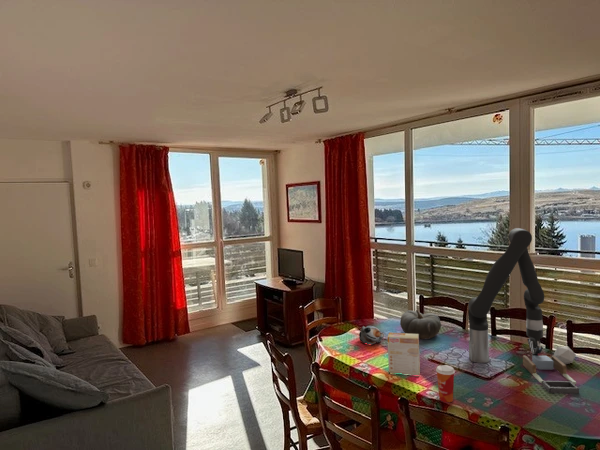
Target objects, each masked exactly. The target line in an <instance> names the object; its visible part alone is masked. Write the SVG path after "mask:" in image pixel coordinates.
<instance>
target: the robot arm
mask: <svg viewBox="0 0 600 450" xmlns="http://www.w3.org/2000/svg"><path fill="white" fill-rule="evenodd" d="M532 239H533V236H532V234H531V232H530V231H528V230H526V229H524V228H519V227H515V228H513V229H511V230H510V231H509V233H508V240H509V242H510V243H509V245H508V246H507V248H506V250H505V251H504V252H503V254H502V255H500V257H498V259H496V261H495V262H494V263H493V264H492V266H491V268H489V271H488V273H487V275H486V277H485V280H484V282H483V286H482V289H481V291H480V293H479V294H478V296H476V297H472V298H471V299H470V300H469V301H468V303H467V304H468V305H467V309H468V313H467V314H468V324H469V340H468V358H469V360H470V361H471V362H474V363H477V364H484V363H485V364H486V363H488V362H490V346H489V323H488V313H489V312H490V310H491V307H492V306H493V302H494V301H495V298H496V297H497V296H498V294H499V293H500V291H501V290H502V288H503V287H504V285H505V284H506V282H507V280H508V279H509V278H510V275H511V274H512V272H513V270H514V268H515V266H516V265H517V264H518V268H519V273H520V277H521V280H522V284H523V285H524V286H525V287H526V289H525V291H524V292H523V300H524V306H525V309H526V322H525V326H526V327H525V329H526V333H525V334H526V336H527V337H528V338H527V343H528V347H529V350H530V351H531V354H532V355H531V357H532V356H539V355H540V354H541V353H542V351H543V345H541V339H543V338H544V323H543V311H542V308H541V307H540V306H539V305H541V304H543V303H544V301H545V298H546V297H545V293H544V290H543V287H542V285H541V283H540V281H539V279H538V278H539V277H538V275H537V269H536V267H535V265H534V263H533V261H532V257H531V256H530V254H529V249H528V247H529V246H530V245H531V243H532V241H533V240H532Z"/></svg>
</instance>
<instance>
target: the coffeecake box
mask: <svg viewBox="0 0 600 450" xmlns="http://www.w3.org/2000/svg"><path fill="white" fill-rule="evenodd" d="M387 357H388V361H387V362H388V373H389V372H390V373H402V374H411V375H419V374H420V372H421V369H420V368H421V365H420V361H421V360H420V338H419V334H408V333H404V332H403V333H402V332H388V334H387ZM419 376H420V375H419Z"/></svg>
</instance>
